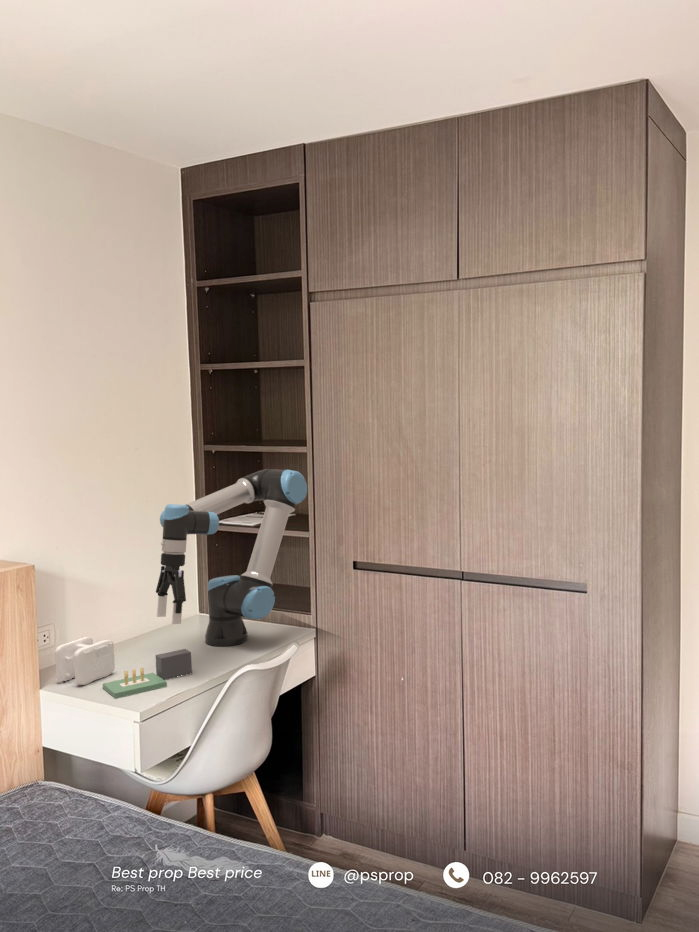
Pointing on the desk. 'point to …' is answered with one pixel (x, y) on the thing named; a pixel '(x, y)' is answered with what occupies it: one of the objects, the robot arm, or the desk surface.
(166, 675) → the block
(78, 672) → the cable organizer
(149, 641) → the desk surface
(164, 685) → the board
